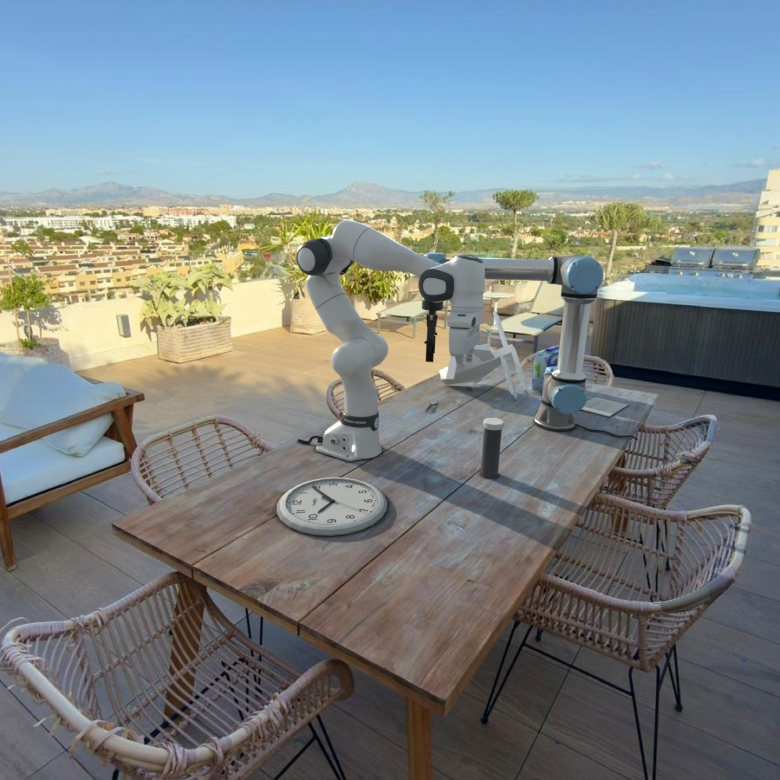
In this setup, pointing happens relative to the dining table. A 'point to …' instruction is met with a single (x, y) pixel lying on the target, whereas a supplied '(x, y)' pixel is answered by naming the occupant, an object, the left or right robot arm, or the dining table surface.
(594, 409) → the invitation card
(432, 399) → the fork
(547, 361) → the lunch box
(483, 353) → the white plastic object
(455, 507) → the dining table surface
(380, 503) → the wall clock
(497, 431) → the jar
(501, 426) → the lid
